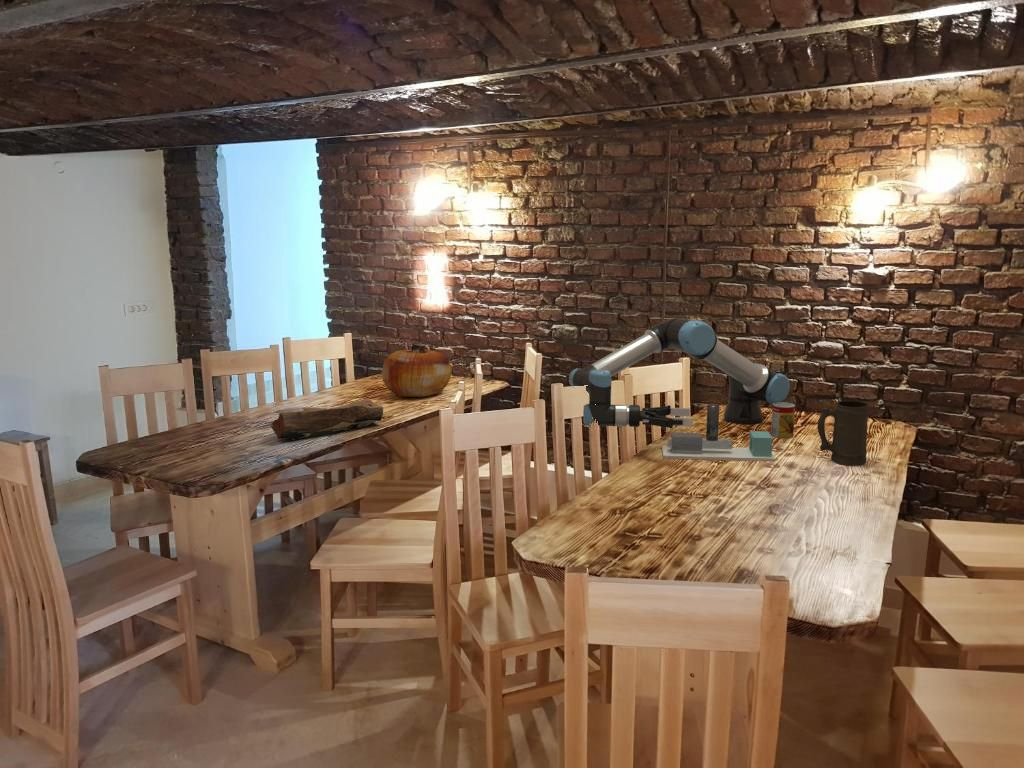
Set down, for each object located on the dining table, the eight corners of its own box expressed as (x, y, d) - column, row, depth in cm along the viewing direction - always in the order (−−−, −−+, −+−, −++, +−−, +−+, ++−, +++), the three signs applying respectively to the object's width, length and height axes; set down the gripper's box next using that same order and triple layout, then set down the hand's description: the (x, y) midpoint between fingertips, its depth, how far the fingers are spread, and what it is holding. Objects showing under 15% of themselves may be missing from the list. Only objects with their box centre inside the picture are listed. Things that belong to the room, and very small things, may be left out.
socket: (752, 456, 248) (753, 437, 247) (749, 449, 256) (749, 431, 254) (771, 456, 247) (772, 438, 246) (767, 449, 255) (768, 431, 253)
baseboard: (663, 458, 251) (663, 455, 251) (661, 448, 262) (661, 445, 262) (775, 461, 245) (775, 458, 245) (768, 451, 257) (769, 448, 256)
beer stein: (861, 456, 249) (862, 398, 245) (873, 466, 238) (874, 406, 234) (814, 458, 250) (813, 401, 246) (824, 468, 240) (824, 409, 236)
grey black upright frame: (668, 448, 254) (669, 405, 251) (668, 445, 258) (669, 403, 255) (732, 450, 250) (733, 407, 247) (730, 446, 254) (732, 404, 251)
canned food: (797, 437, 273) (799, 405, 270) (780, 439, 270) (782, 407, 267) (782, 432, 280) (784, 401, 277) (766, 434, 277) (767, 403, 274)
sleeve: (671, 453, 253) (672, 436, 252) (671, 448, 259) (671, 432, 257) (701, 453, 251) (702, 437, 250) (700, 449, 257) (700, 432, 256)
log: (278, 444, 274) (283, 405, 272) (264, 431, 288) (268, 393, 285) (382, 442, 299) (387, 406, 297) (364, 430, 313) (369, 396, 311)
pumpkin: (458, 388, 371) (454, 338, 367) (445, 400, 339) (441, 345, 335) (394, 391, 375) (389, 342, 371) (376, 403, 342) (371, 349, 338)
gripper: (628, 417, 268) (688, 418, 265) (627, 436, 244) (693, 437, 241) (628, 397, 267) (688, 398, 263) (628, 414, 243) (694, 415, 239)
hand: (691, 416), depth 252 cm, fingers open, 13 cm apart
